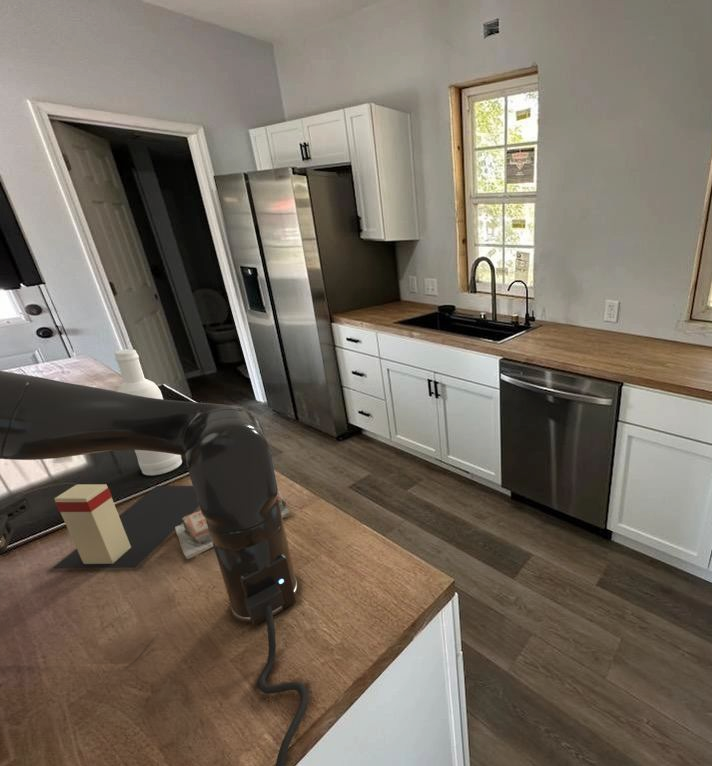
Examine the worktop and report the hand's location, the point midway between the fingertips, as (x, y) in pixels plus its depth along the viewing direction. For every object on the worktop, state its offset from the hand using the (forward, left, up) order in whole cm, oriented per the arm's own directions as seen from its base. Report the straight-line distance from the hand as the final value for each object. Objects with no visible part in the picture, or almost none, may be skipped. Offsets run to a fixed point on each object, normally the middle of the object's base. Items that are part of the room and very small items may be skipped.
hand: (22, 502), depth 61 cm
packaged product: (-1, -24, -18) cm, 30 cm away
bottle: (+35, -18, -18) cm, 43 cm away
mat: (+12, -12, -18) cm, 25 cm away
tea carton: (+5, -6, -18) cm, 19 cm away
